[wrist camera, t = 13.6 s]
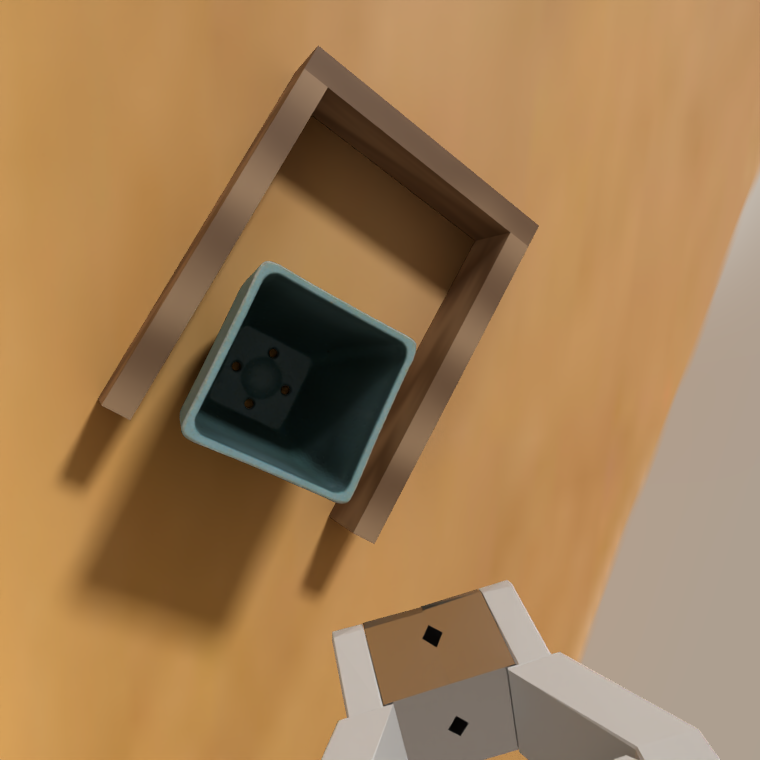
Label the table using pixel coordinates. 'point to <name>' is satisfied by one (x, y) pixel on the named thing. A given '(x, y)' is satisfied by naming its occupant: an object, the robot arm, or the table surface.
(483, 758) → the robot arm
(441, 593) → the table surface
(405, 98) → the table surface
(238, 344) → the flower pot
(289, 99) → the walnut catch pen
